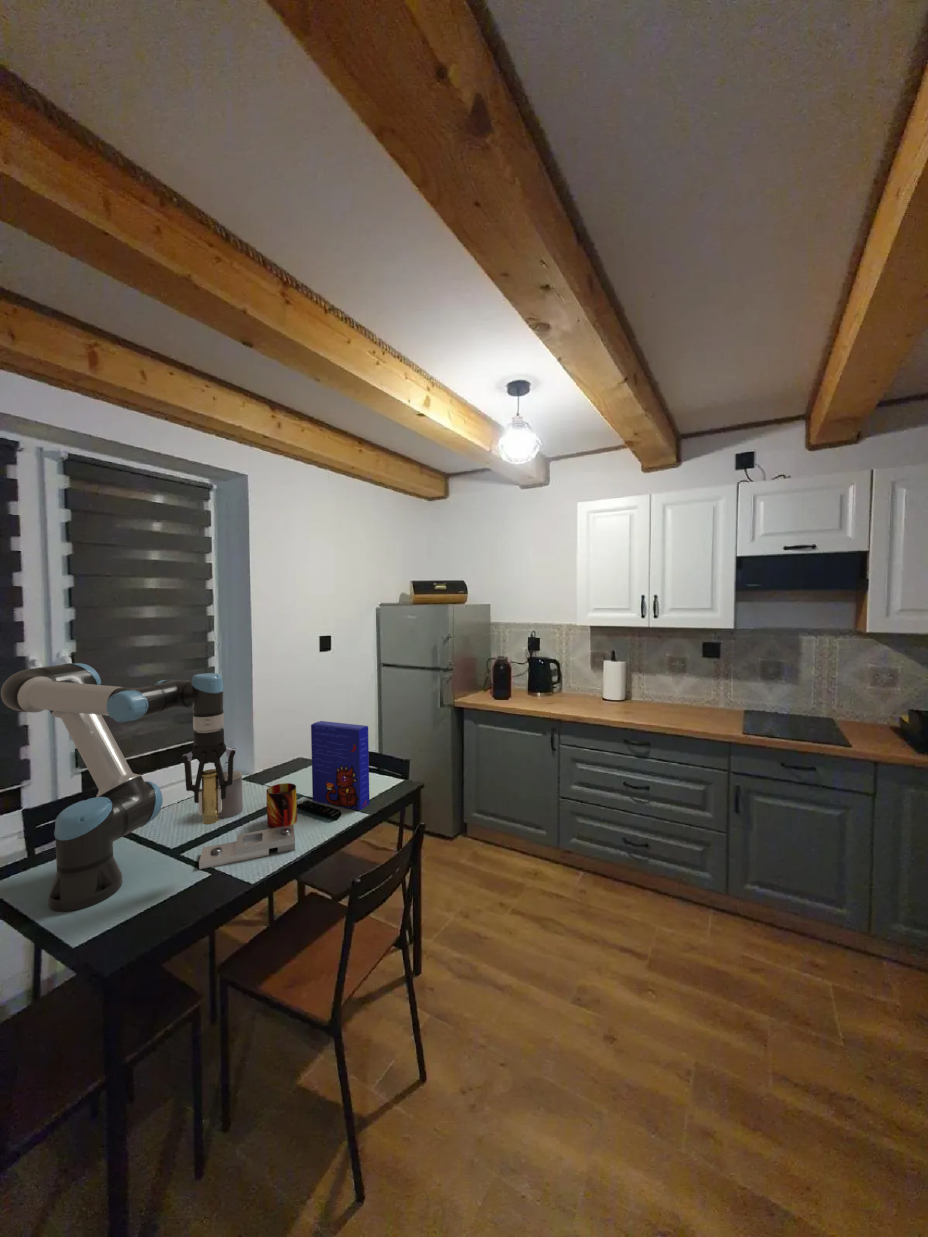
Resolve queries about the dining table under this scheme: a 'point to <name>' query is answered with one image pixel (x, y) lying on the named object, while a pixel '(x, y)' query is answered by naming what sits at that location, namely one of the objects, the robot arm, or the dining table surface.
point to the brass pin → (210, 796)
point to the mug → (281, 805)
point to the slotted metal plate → (249, 846)
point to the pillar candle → (232, 796)
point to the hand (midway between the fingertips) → (210, 811)
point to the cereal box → (340, 764)
